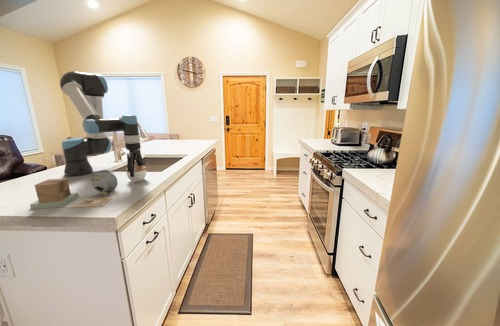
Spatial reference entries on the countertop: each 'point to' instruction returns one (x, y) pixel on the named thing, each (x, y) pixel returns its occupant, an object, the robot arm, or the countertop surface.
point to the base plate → (54, 202)
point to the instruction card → (91, 202)
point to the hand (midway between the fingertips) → (137, 178)
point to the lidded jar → (138, 173)
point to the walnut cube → (52, 190)
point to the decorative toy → (104, 182)
